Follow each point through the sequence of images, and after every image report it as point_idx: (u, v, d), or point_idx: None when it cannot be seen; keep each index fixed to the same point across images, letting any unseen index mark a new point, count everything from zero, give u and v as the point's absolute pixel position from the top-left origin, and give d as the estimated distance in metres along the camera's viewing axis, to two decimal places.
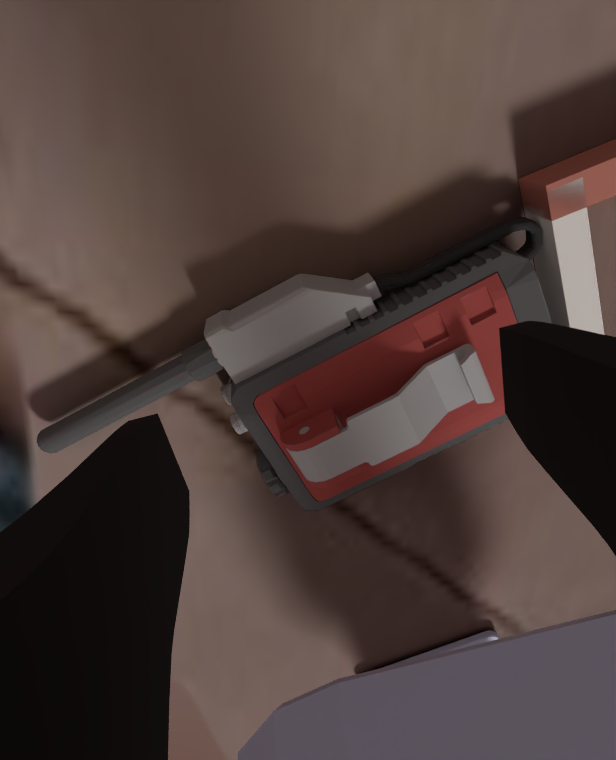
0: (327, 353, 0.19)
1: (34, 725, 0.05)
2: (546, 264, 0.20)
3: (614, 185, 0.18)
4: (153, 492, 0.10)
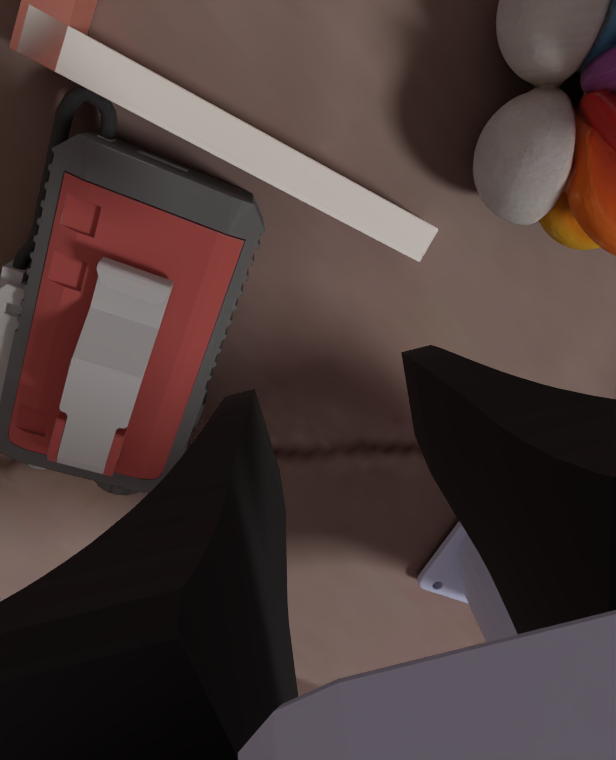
0: (18, 359, 0.18)
1: (239, 674, 0.05)
2: None
3: None
4: (262, 465, 0.10)
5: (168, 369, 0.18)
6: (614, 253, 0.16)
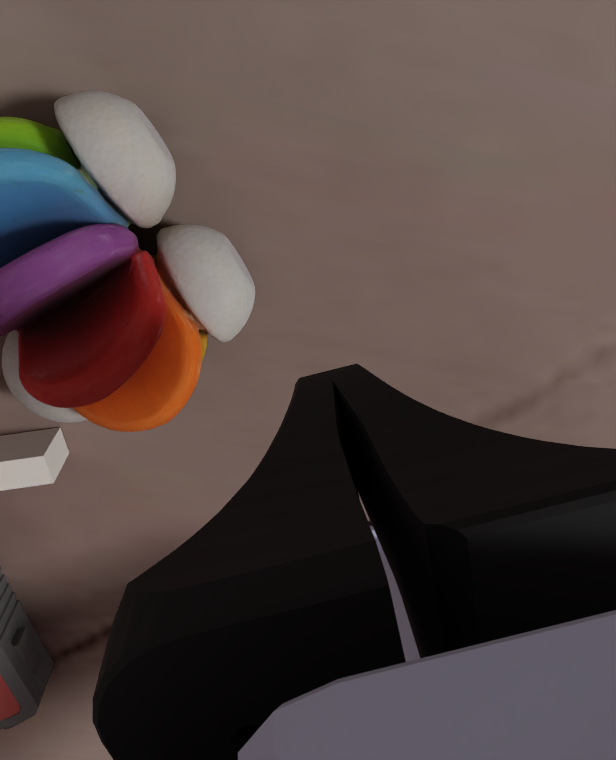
0: None
1: None
2: None
3: None
4: (345, 444, 0.10)
5: None
6: None
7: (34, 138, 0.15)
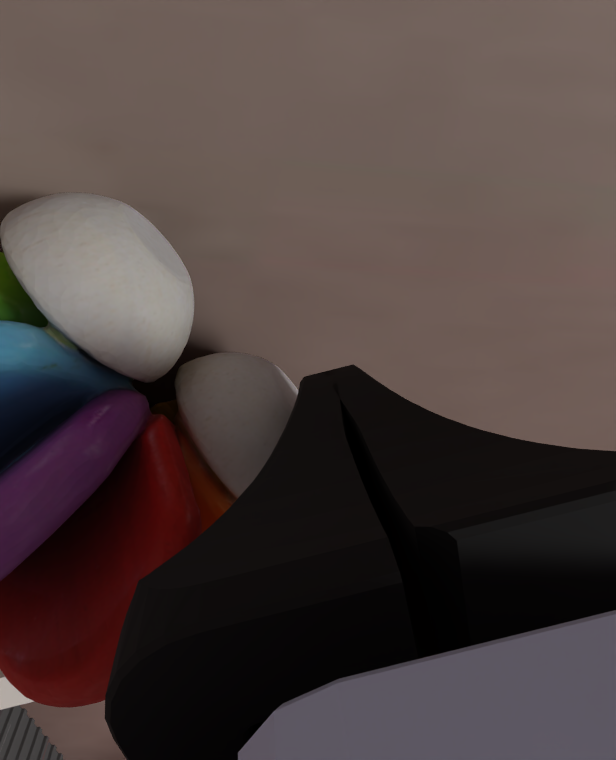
0: None
1: None
2: None
3: None
4: None
5: None
6: None
7: None
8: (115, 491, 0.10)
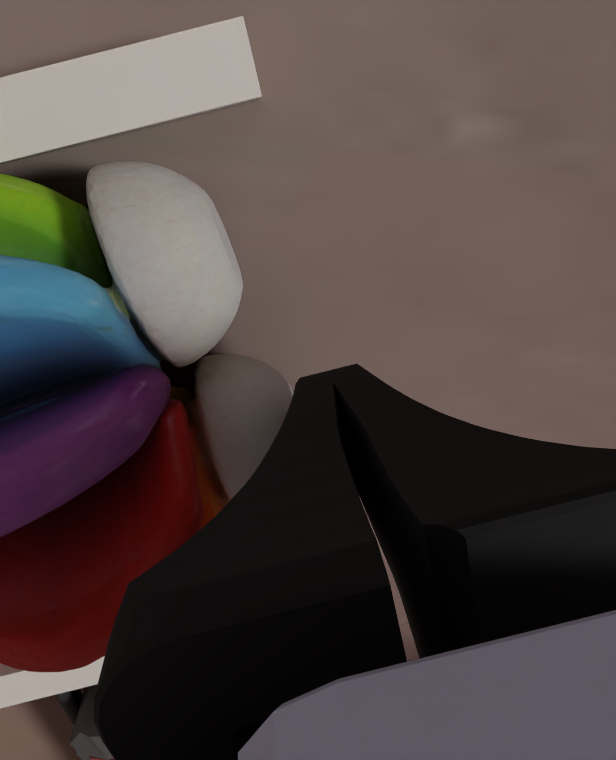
0: None
1: None
2: None
3: None
4: (345, 444, 0.10)
5: None
6: None
7: (45, 221, 0.09)
8: (123, 465, 0.10)
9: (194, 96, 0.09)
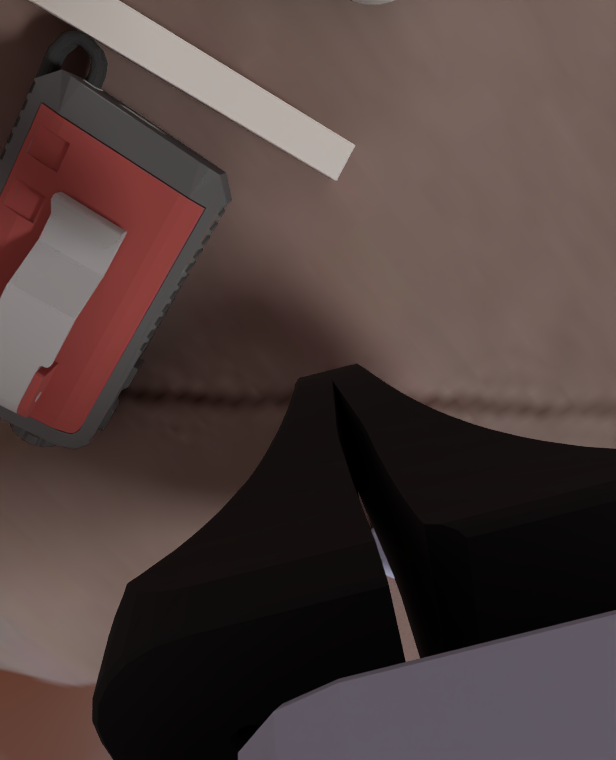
0: None
1: None
2: (36, 4, 0.16)
3: None
4: (345, 444, 0.10)
5: (105, 321, 0.18)
6: None
7: None
8: None
9: None
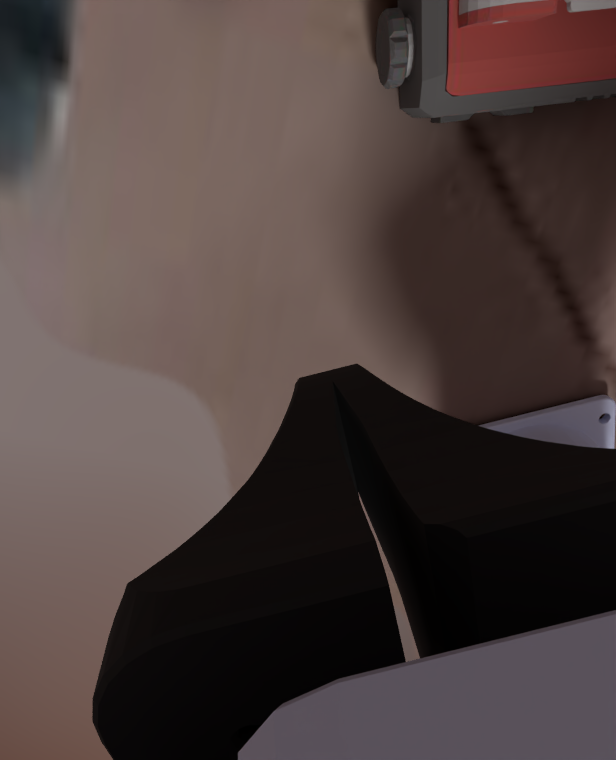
0: None
1: None
2: None
3: None
4: (345, 444, 0.10)
5: (607, 41, 0.15)
6: None
7: None
8: None
9: None
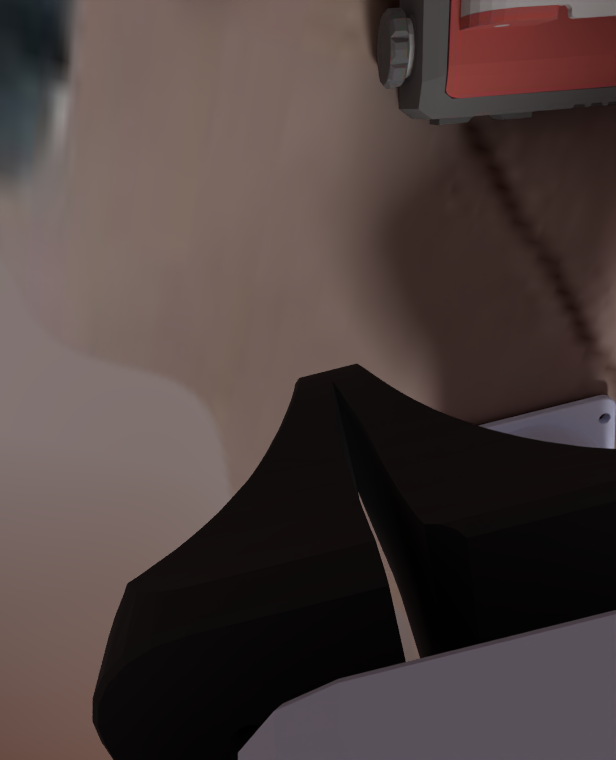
0: None
1: None
2: None
3: None
4: (345, 444, 0.10)
5: (607, 48, 0.16)
6: None
7: None
8: None
9: None
